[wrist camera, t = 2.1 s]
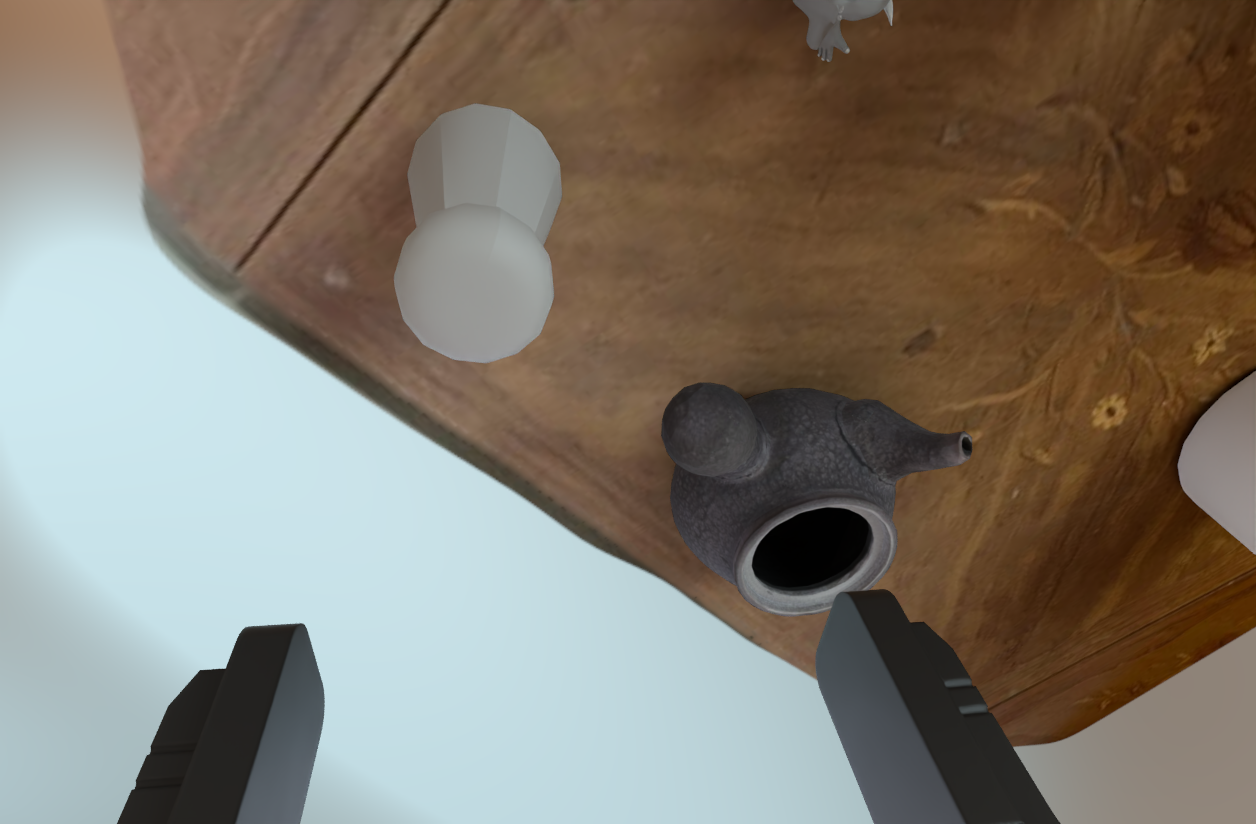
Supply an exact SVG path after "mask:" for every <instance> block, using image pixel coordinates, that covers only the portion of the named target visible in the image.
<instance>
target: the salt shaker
mask: <svg viewBox="0 0 1256 824" xmlns="http://www.w3.org/2000/svg"><path fill="white" fill-rule="evenodd" d="M407 176H408V181H409V187H410V193H411V198H412V204H413V210H414V216H415V221H416V227H417V228H416V229H415V230H414V231H413V232H412V233H411V234H410V235H409V236H408V237H407V238H406V241H405V243H404V245H403V247H402V251H401V254H400V258H399V261H398V265H397V268H396V272H395V275H394V284H395V291H396V294H397V298H398V302H399V306H400V310H401V314H402V318H403V320H404V321H405V323H406V324H407V325H408V326H409V327H410V329H411V330H412V331H413V332H414V334H415V335H416V336H417V337H418V338H419V340H420V341H421V342H422V343H423V345H425V346H427V347H429V348H431V349H433V350H435V351H437V352H439V353H441V354H443V355H445V356H447V357H449V358H451V359H453V360H461V361H470V362H480V363H489V362H492V361H495V360H498V359H502V358H505V357H508V356H511V355H514V354H517V353H518V352H520V351H521V350H522V349H523V348H524V347H525V346H527V345H528V344H529V343H530V342H531V341H532V340H534V339H535V338H536V337H537V336H538V335H540V333H541V331H542V328H543V326H544V323H545V321H546V318H547V316H548V313H549V310H550V308H551V305H552V302H553V298H554V288H553V277H552V266H551V261H550V257H549V255H548V253H547V252H546V250H545V249H544V247H543V246H544V243H545V241H546V238H547V236H548V233H549V231H550V229H551V226H552V223H553V220H554V218H555V215H556V212H557V209H558V206H559V204H560V201H561V198H562V189H561V175H560V163H559V161H558V159H557V158H556V156H555V154H554V153H553V151H552V149H551V148H550V146H549V144H548V143H547V141H546V139H545V138H544V136H543V134H542V133H541V131H540V130H539V129H537V128H536V127H534V126H533V125H532V124H530V123H529V122H527V121H526V120H525V119H523V118H522V117H521V116H519V115H518V114H516V113H515V112H514V111H512V110H511V109H506V108H500V107H494V106H488V105H482V104H476V103H475V104H472V105H468V106H465V107H462V108H459V109H456V110H453V111H449V112H446V113H443V114H441V115H440V116H439V117H438V118H437V119H436V120H435V121H434V122H433V123H432V124H431V125H430V127H429V128H428V129H427V130H426V131H425V132H424V133H423V134H422V135H421V136H420V137H419V138H418V139H417V140H416V144H415V147H414V151H413V155H412V158H411V162H410V166H409V170H408V173H407Z"/></svg>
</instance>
